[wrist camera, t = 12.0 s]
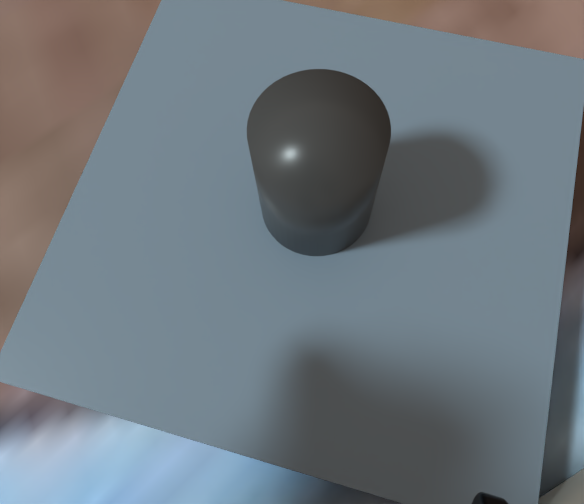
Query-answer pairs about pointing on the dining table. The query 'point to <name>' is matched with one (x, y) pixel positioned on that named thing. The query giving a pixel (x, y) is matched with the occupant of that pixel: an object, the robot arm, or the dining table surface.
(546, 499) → the box
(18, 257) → the dining table surface
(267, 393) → the lid
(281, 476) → the dining table surface
